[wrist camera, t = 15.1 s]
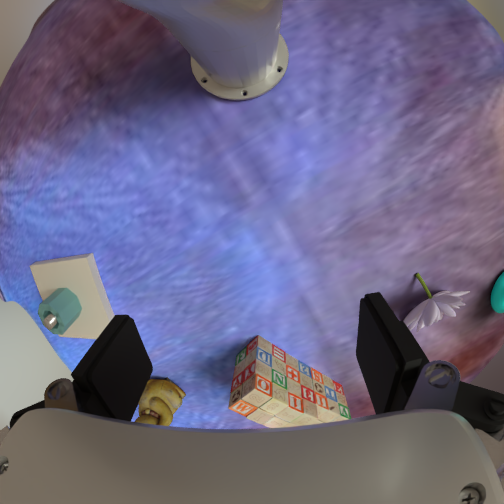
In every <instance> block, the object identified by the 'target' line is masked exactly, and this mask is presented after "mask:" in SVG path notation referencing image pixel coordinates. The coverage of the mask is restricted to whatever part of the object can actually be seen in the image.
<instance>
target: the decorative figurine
mask: <svg viewBox="0 0 504 504" xmlns="http://www.w3.org/2000/svg"><path fill="white" fill-rule="evenodd" d="M185 396H186V394H185V392H184V391H183V390H182V389H181V388H179V387H178V386H177V385H175V384H174V383H173V382H172V381H171V380H170V379H168V378H165V379H164V380H161V379H150V380H148V382H147V385H146V387H145V389H144V391H143V394H142V396H141V398H140V401H139V416H140V417H138V418H137V419H136V420H135V422H138V423H145V424H153V425H162V426H169V425H170V424H171V422H172V420H173V414H174V413H175V412H176V410H177V409H178V408H179V407H180V406H181V405H182V399H183V398H184V397H185Z"/></svg>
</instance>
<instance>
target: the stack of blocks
mask: <svg viewBox="0 0 504 504" xmlns="http://www.w3.org/2000/svg"><path fill="white" fill-rule="evenodd" d="M230 393H231V395H230V401H229V407H228V409H230V410H233V411H235V412H237V413H239V414H241V415H243V416H246V418H248V419H250V420H252V421H254V422H257V423H259V424H263V425H264V426H267V427H269V428H281V427H293V426H303V425H312V424H320V423H328V422H335V421H342V420H348V419H351V416H350V412H349V408H348V406H347V402H346V398H345V396H344V391H343V387H342V385H340V384H339V383H337V382H335V381H333V380H332V379H330V378H329V377H327V376H325V375H323V374H321V373H320V372H318V371H316V370H315V369H313V368H311V367H309V366H307V365H306V364H304V363H302V362H300V361H299V360H297V359H295V358H294V357H292V356H290V355H289V354H287V353H285V352H284V351H283V350H281V349H279V348H278V347H276V346H275V345H273V344H271V343H270V342H269V341H267V340H265V339H264V338H262V337H261V336H259V335H258V336H257V337H255V338H254V339H253V340H252V341H251V342H250V343H249V344H248V345H247V346H246V347H245V348H244V349H243V350H242V351H241V352H240V353H239V354H238V355H237V356H236V362H235V369H234V375H233V380H232V386H231V392H230Z"/></svg>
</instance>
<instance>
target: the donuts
mask: <svg viewBox="0 0 504 504" xmlns="http://www.w3.org/2000/svg"><path fill="white" fill-rule="evenodd" d="M491 305H492V308H493V309H494V311H496V312H498V313H504V272H503V273H502V274H501V275H500V276H499V278H498V279H497V281H496V283H495V285H494V287H493V290H492V293H491Z"/></svg>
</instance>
